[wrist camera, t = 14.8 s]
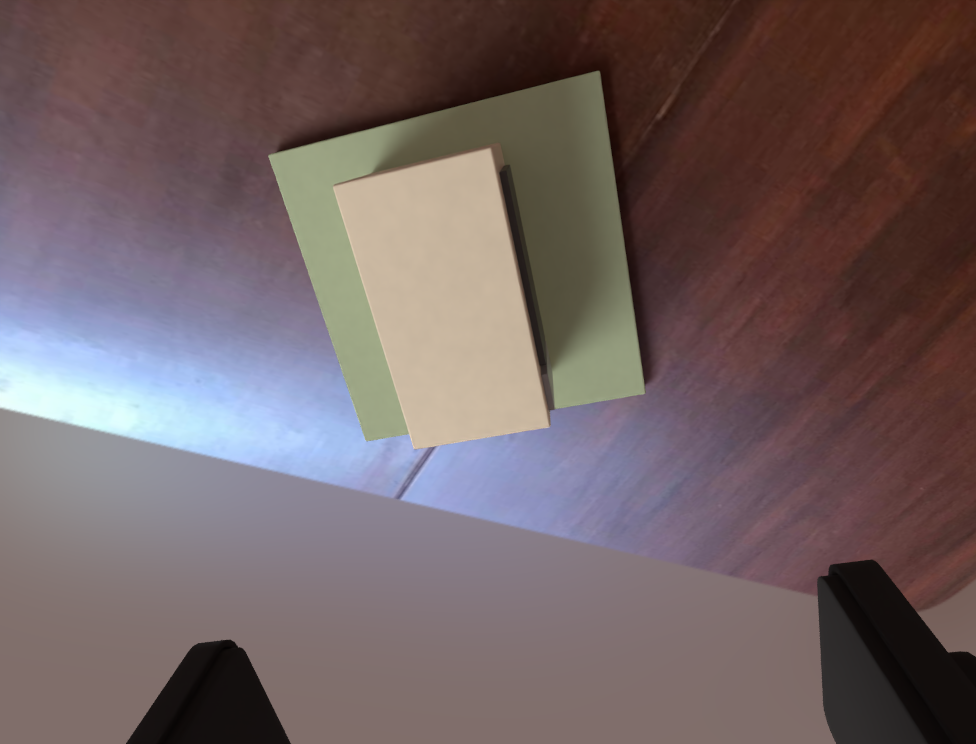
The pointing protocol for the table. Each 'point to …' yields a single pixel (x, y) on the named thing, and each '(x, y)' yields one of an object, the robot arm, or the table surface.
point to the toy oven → (452, 295)
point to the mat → (546, 224)
